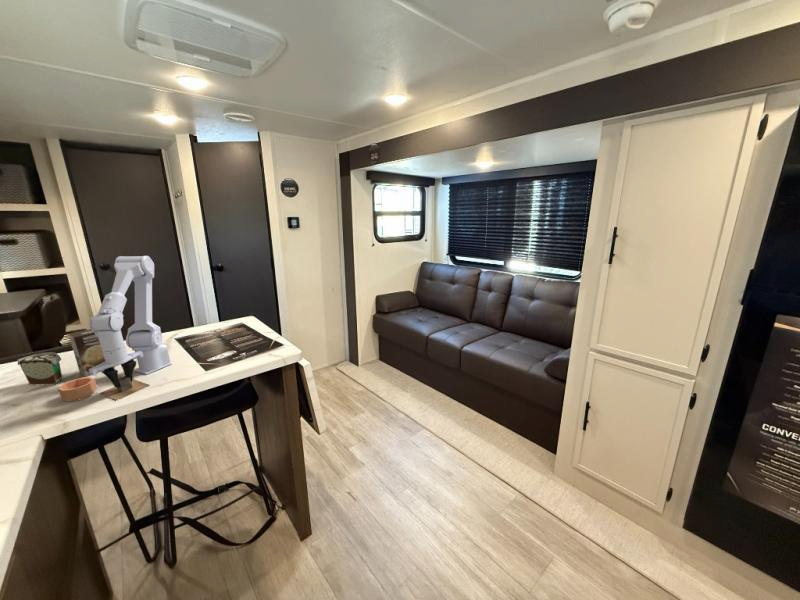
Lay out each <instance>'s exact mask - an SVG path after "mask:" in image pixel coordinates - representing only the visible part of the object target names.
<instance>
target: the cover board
mask: <svg viewBox="0 0 800 600" xmlns="http://www.w3.org/2000/svg"><path fill="white" fill-rule="evenodd" d="M118 379H119V382H120V387H119V388H117V387H115V386H113V387H110V388H107V389H106V390H103V391H101V392H99V394H100V395H101V394H102V395H101V396H103V395H105V396H104V397H106V396H107V397H106V398H108V397H109V398H108V399H111V398H112V399H111V400H113V399H114V401H116V400H117V401H119V400H121V399H123V398H125V397H128V396H130V395H132V394H135V393H137V392H139V391H141V390H143V389H146V388H147V387H149V386H151V385H150V384H148V383H146V382H143V381H139V380H136V379H134V378H133V381H132V382H131V380H130V377H127V376H125V375H123V376H121V377H118ZM145 387H146V388H145ZM118 399H119V400H118Z"/></svg>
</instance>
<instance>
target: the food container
mask: <svg viewBox="0 0 800 600" xmlns="http://www.w3.org/2000/svg"><path fill="white" fill-rule="evenodd" d="M61 360H62V358H61V356H60V355H59V354H58V353H57V352H42V353H37V354H36V353H35V354H32V355H29V356H24V357H22V358H19V359H17V362H16V363H17V365H18V366H20V369H21V370H22V373H23V374H24V377H25V378H26V380H27V382H28V384H29V386H39V384H40V386H42V385H41V384H44V385H45V386H47V385H46V384H57V385H58V383H59V384H60V383H62V381H63V380H62V379H63V374H62V369H61V363H60V361H61ZM37 384H38V385H37ZM44 385H43V386H44Z"/></svg>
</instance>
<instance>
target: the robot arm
mask: <svg viewBox="0 0 800 600" xmlns="http://www.w3.org/2000/svg"><path fill="white" fill-rule="evenodd" d="M114 261H115V262H114V263H113V264H114V265H113V267H114V270H115V272H116V273H115V277H114V282H113V285H112V288H111V292H109V293H107V294H105V295H104V298H103V300H102V303H101V306H100V308H99V309H98V313H97V314H95V315H94V316H92V317H91V318H90V320H89V329H91V330H92V331H93V332H94V333H95V335H96V336H97V337H98V338H99V341H100V345H101V348H102V351H103V355H104V358H105V362H103V363H101V364H99V365H97V366H95V367H93V368H91V369H89V372H90V374H91V375H90V376H96V375H98V374H99V373H100V374H103V375H104V376H105V377H107V378H108V379H109V380H110V382H111V383H112V385H113V387H117V388H119V387H120V382H119V379H118V378H119V370H117V369H116V367H118V366H120V367H121V368H122V370H123V373H124V376H127V377H130V380H131V382H132V381H133V379H134V378H133V376H134V371H135V372H137V373H141V374H142V375H149V374H151V373H155V372H156V371H159V370H161V369H163V368H166V367H168V366H170V365H172V361H171V357H170V353H169V350H168V348H167V345H166V344H165V343H163V335H162V330H161V327H160V326H159V325H157V324H155V323H154V322H153V279H154V278H155V263H154V261H153V260H152V258H151V257H150V256H149V255H142V256H139V255H138V256H137V255H136V256H132V255H131V256H129V255H128V256H127V255H126V256H122V255H120V256H117V257H116V258H115V260H114ZM132 282H133V283H134V324H132V325H131V326H130V327H128V328H127V334H126V337H125V340H124V337H123V334H122V333H123V332H122V330H121V329H122V327H123V326H124V314H123V312H124V308H125V306H126V303H127V301H128V298H127V297H126V296H125V295H126V293H127V291H128V289H129V287H130V286H131V284H132ZM124 341H125V342H124ZM125 344H126V345H125ZM126 346H127V347H128V348H129V349H131V351H133V352H131V353H127V349H126ZM135 359H136V360H135ZM137 365H138V367H137V368H136V366H137ZM113 367H114V368H113Z"/></svg>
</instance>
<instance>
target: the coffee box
mask: <svg viewBox="0 0 800 600" xmlns="http://www.w3.org/2000/svg"><path fill="white" fill-rule="evenodd" d="M68 337H69V340H70V345H71V347H72V350H73V354H74V357H75V358H74V359H75V361H76V365H77V368H78V371H79V373H80V374H81V375H83V376H84V377H90V376H92V375H91V374H90V372H89V369H91V368H93V367H95V366H97V365H99V364H101V363H103V362H105V358H104V355H103V351H102V348H101V345H100V341H99V338H98V337H97V336H96V335H95V333H94V332H93V331H92V330H91V329H90V328H89V329H84V330H80V331H76V332H75V331H74V332H70V333H68Z"/></svg>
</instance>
